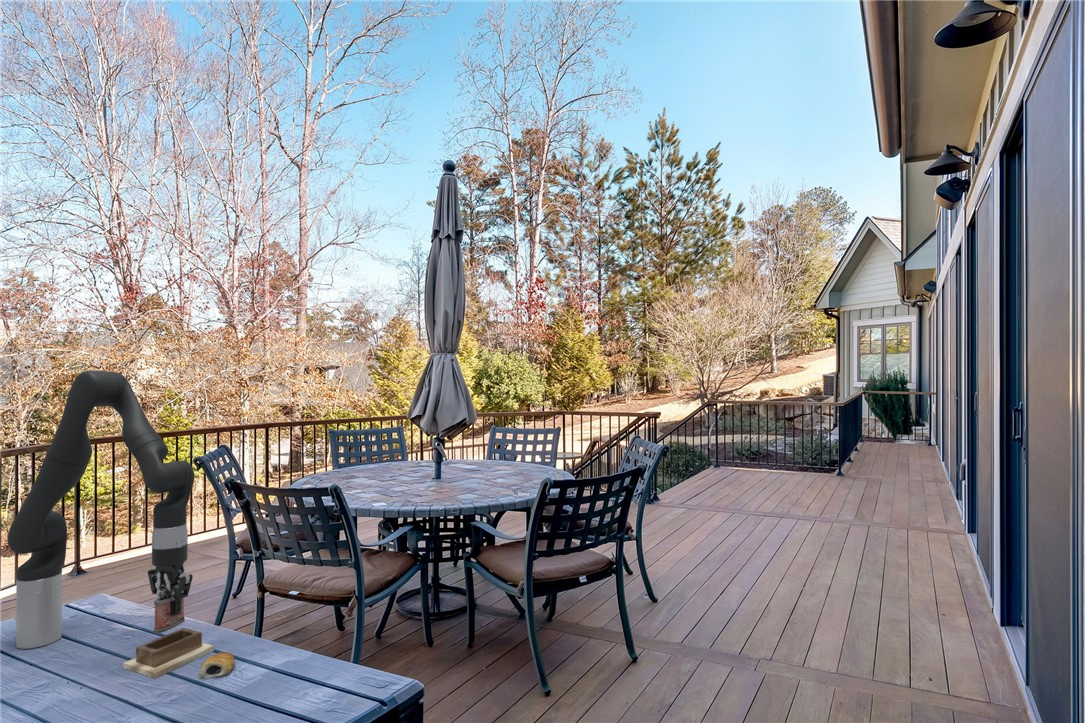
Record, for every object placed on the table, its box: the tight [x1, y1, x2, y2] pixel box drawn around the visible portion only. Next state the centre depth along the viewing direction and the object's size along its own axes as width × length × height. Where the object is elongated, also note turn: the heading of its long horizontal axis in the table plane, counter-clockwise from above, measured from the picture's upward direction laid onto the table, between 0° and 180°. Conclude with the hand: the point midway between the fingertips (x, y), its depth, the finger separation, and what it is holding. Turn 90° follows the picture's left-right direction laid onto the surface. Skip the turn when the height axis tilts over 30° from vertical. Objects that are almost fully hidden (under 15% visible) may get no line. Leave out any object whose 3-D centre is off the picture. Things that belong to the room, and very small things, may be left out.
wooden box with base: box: [122, 627, 215, 679], centre depth 148 cm, size 12×15×5 cm
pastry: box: [198, 651, 235, 680], centre depth 144 cm, size 9×7×4 cm
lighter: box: [153, 584, 185, 634], centre depth 149 cm, size 8×3×10 cm, turn 168°
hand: (169, 613), depth 149 cm, fingers closed on lighter, 3 cm apart
